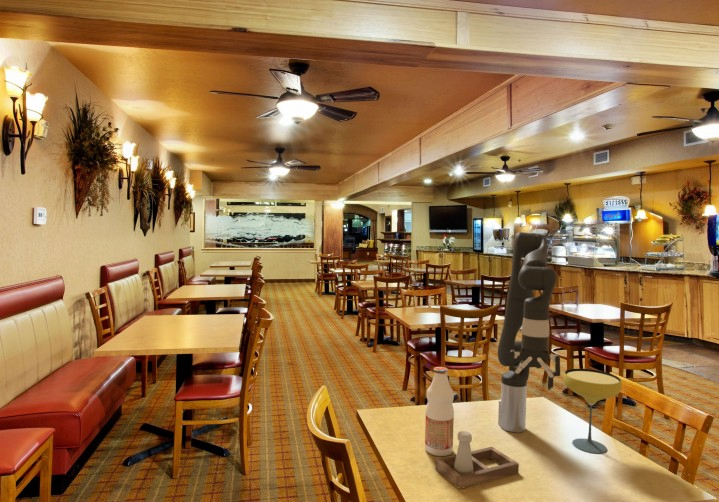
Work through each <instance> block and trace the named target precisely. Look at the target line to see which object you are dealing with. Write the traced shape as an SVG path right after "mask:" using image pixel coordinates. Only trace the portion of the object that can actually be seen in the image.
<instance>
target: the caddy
mask: <svg viewBox="0 0 719 502" xmlns="http://www.w3.org/2000/svg"><path fill="white" fill-rule="evenodd" d="M456 455H457V454H454V455H451V456H449V455H448V456H444V457H441V458H437V459H435V470H436V471H437V472H438V471H439V474H441V475H442V476H443V477H444V476H445V477H444V478H445V479H447V480H448V481H449V480H450V481H451V482H450V481H449V482H450V483H451V484H453V483H454V484H455V485H456V486H457V487H456V486H455V485H454V484H453V485H454V486H455V487H456V488H458V487H459V488H462V489H464V488H463V487H466V488H468V487H467V486H469V487H472V486H471V485H473V486H477V485H480V484H485V483H487V482H491V481H495V480H499V479H502V478H505V477H511V476H513V475H517V474H519V470H520V469H519V467H520V466H519V465H520V463H519V462H517V461H516V460H514V459H512V458H510V457H509V456H507V455H506V454H504V453H503V452H501V451H499V450H498V449H496V448H495V447H494V446H489V447H484V448H480V449H475V450H471V455H472V462H473V472H472V473H468V474H464V475H460V474H459V473H457V472H456V471H455V469H454V463H455V459H456ZM490 459H492V460H493V461H494V462H496V463H498V464H499V465H495V466H492V467H488V466H487V465H486V464H483V462H482V461H486V460H490ZM479 483H480V484H479ZM476 484H477V485H476ZM459 488H458V489H459Z"/></svg>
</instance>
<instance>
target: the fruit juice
mask: <svg viewBox="0 0 719 502" xmlns="http://www.w3.org/2000/svg"><path fill="white" fill-rule="evenodd" d="M448 375H449V368H447V367H443V366H435V367H433V378H432V380H431V384H430V385H429V386H428V388H427V390H426V398H427V403H426V407H425V427H424V428H425V430H424V449H425V451H426V452H427V453H429V454H430V455H433V456H436V457H448V456H449V455H452V453H453V449H454V421H455V420H454V419H455V418H454V417H455V414H454V413H455V410H454V406H453V401H454V397H455V393H454V390H453V389H452V387H451V385H450V384H451V383H450V380H449V377H448Z"/></svg>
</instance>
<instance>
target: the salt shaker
mask: <svg viewBox="0 0 719 502" xmlns="http://www.w3.org/2000/svg"><path fill="white" fill-rule="evenodd" d="M457 440H458V441H459V442H458V446H457V451H456V454H455V455H456V459H455V463H454V468H453V470H455V471H456V472H457V473H459V474H460V475H464V474H468V473H472V472H474V471H473V462H472V455H471V451H472V448H471V442H472V440H473V436H472V433H470V432H469V431H467V430H460V431H459V432H458V433H457Z"/></svg>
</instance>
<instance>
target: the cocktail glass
mask: <svg viewBox="0 0 719 502" xmlns="http://www.w3.org/2000/svg"><path fill="white" fill-rule="evenodd" d="M563 383H564V385H565V386H566V388H568V389H569V390H570V391H572V392H573V393H575V394H577V395H578V396H580V397H582V398H583V399H584V400H585V402H586V403H587V404H588V405H589V416H588V417H589V419H588V435H587V438H575V439H573V440H572V442H571V443H572V445H573V446H574V447H575V448H576V449H578V450H580V451H583V452H586V453H590V454H599V455H601V454H604V453H606V452H607V450H608V449H607V446H606V445H605V444H603V443H601V442H599V441H596V440H593V439H592V415H593V413H592V411H593V405H596V403H598V402H599V401H601V400H607V399H611V398H614V397H616V396H617V395H619V394H620V393H621V391H622V387H623V383H622V380H621V378H620V377H618V376H617V375H614V374H612V373H609V372H606V371H602V370H597V369H596V370H595V369H591V368H590V369H589V368H570V369H567V370H565V371H564V373H563Z"/></svg>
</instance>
